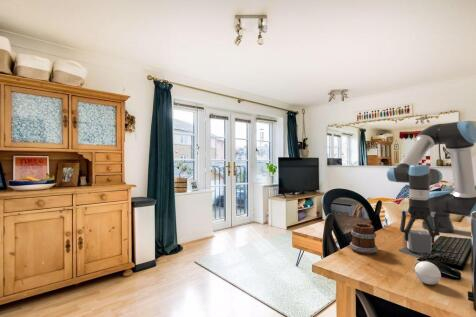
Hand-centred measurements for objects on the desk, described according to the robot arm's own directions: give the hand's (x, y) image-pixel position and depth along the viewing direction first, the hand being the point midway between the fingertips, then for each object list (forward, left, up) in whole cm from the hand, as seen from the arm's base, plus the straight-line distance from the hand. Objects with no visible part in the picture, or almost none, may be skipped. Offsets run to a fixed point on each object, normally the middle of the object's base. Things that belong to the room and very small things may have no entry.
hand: (419, 248), depth 113 cm
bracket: (-10, -8, -3) cm, 13 cm away
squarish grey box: (0, 0, 0) cm, 1 cm away
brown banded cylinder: (+19, -13, -2) cm, 23 cm away
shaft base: (0, 0, -2) cm, 2 cm away
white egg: (+27, +19, -2) cm, 33 cm away
